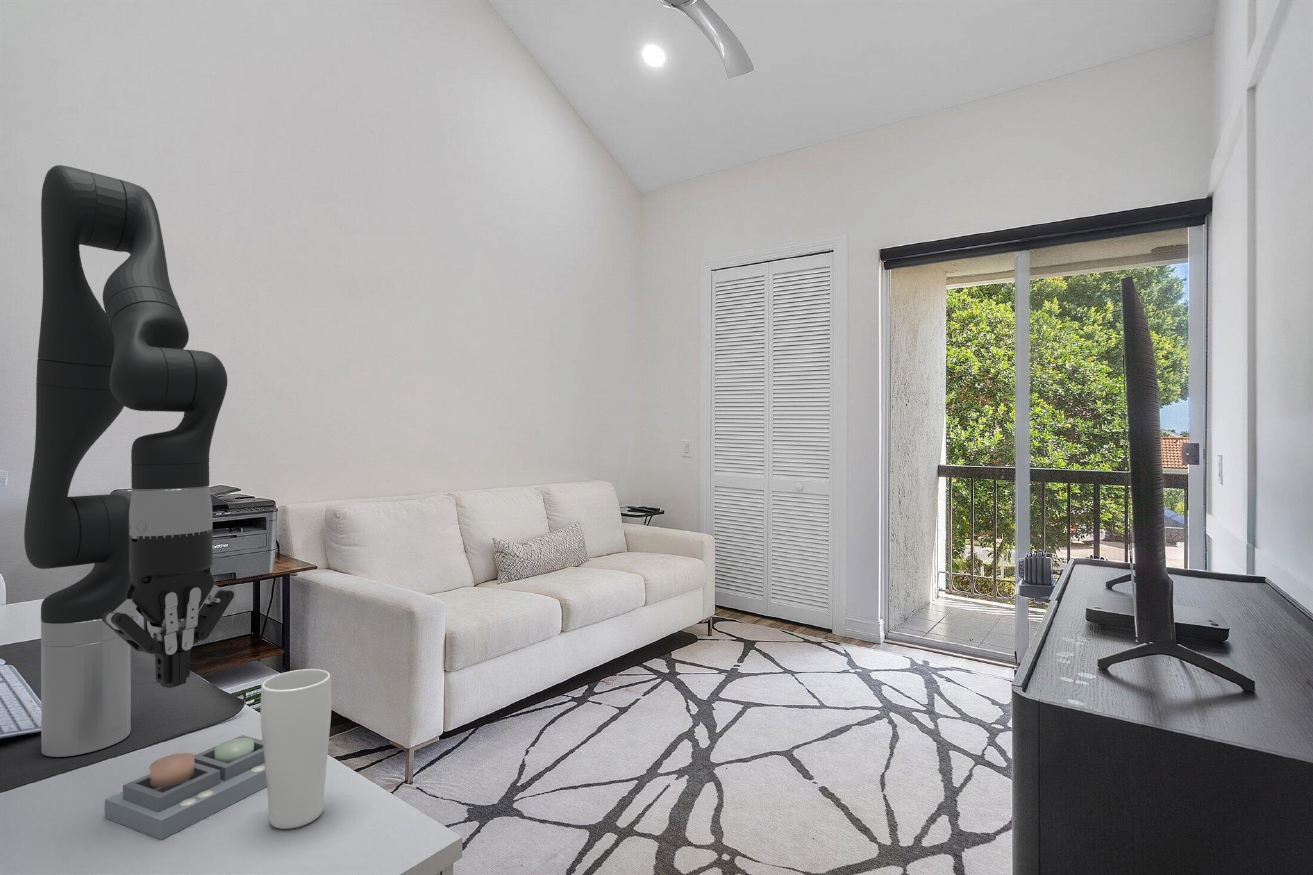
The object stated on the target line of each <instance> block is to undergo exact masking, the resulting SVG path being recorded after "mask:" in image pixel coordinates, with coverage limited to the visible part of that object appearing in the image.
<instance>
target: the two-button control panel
mask: <svg viewBox="0 0 1313 875" xmlns="http://www.w3.org/2000/svg"><path fill="white" fill-rule="evenodd" d="M239 738H250V739H252V740H254V752H252V753H250V754H248V755H246V756H243V757H241V758H239V759H237V760H235V761H232V762H230V763H224V762H221V761H218V760H215V748H216V747H217V746H218V745H215V746H214V747H210V748H209V749H206V750H203V751H201V752H199V753H197V754H195V755H194V754H193V755H194V775H193V776H192V777H191V778H189V779H188V780H186V781H184V782H181V783H179V784H175V785H172V786H166V787H154V786H151V785H150V773H149V774H147V775H144V776H142V777H139V778H137V779H134V780H132V781H130V782H128V783H125V784H123V785H122V791H120V792H118V793H115V794H114V795H111V796H109V797H106V798H105V799H104V818H105V819H108V820H110V821H112V822H115V823H117V824H120V825H122V826H125V827H127V828H129V829H133V830H135V831H138V832H140V833H143V834H145V835H148V836H150V837H153V838H156V839H157V840H161V841H163V840H164V839H166V838H168V837H170V836H173V835H174V834H176V833H179V832H180V831H182V830H184V829H186V828H188V827H189V826H192V825H194V824H196V823H197V822H200V821H202V820H204V819H206V818H207V817H208V818H209V816H211V815H213V814H215V813H218V812H220V811H221V810H224V809H226V808H228V807H229V806H231V805H233V804H235V803H237V802H240V801H241V800H243V799H245V798H247V797H249V796H251V795H253V794H255V793H257V792H259V791H261V790H262V789H265V788H267V782H266V771H265V762H264V752H263V742H262V739H259V738H255V737H252V736H251V737H250V736H247V735H239V736H237V737H234V738H232V739H231V740H233V739H239Z"/></svg>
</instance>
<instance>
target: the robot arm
mask: <svg viewBox="0 0 1313 875" xmlns="http://www.w3.org/2000/svg"><path fill="white" fill-rule="evenodd" d="M40 210H41V211H40V215H41V216H40V222H41V223H40V225H41V226H40V228H41V253H42V254H41V255H42V302H41V303H42V304H41V317H40V327H39V336H38V337H39V338H38V350H37V360H36V384H35V385H36V386H35V388H36V389H35V395H36V396H35V400H36V401H35V403H36V404H35V413H36V414H35V440H34V453H33V462H32V468H31V476H30V483H29V490H28V497H27V504H26V513H25V520H24V522H25V523H24V529H23V531H24V532H23V537H24V538H23V539H24V549H25V553H26V554H25V555H26V558H27V559H28V562H29V563H30V565H31V566H33V567H34V568H37V569H41V570H43V569H44V570H45V569H46V570H47V569H49V570H50V569H59V568H67V567H74V566H85V565H92V564H93V568H92V569H91V571H90V572H88V573H87V575H85V576H84V577H82V578H81V579H80V580H78V581H76V582H75V583H73V584H71V585H69V586H67V587H65V588H62V589H60V590H58V591H55V592H53V593H51V594H48V596H46V597H45V598H44V599H43V600H42V602H41V604H40V605H41V606H40V659H41V660H40V665H41V666H40V668H41V669H40V673H41V674H40V679H41V680H40V684H41V685H40V690H41V691H40V692H41V693H40V695H41V696H40V699H41V702H40V704H41V707H40V708H41V711H40V713H41V714H40V715H41V716H40V717H41V720H40V721H41V722H40V723H41V724H40V726H41V728H40V729H41V730H40V731H41V734H40V737H41V740H40V741H41V745H40V747H41V754H42V755H44V756H47V757H52V758H53V757H54V758H55V757H56V758H59V757H60V758H61V757H63V758H64V757H72V756H78V755H83V754H87V753H88V754H89V753H92V752H96V751H99V750H102V749H105V748H108V747H110V746H114V745H115V744H118V743H119V742H121V741H123V740H125V739H126V738H127V737H128V736H129V735H130V733H131V728H132V727H131V720H132V719H131V710H132V709H131V703H132V700H131V698H132V696H131V694H132V693H131V682H132V678H131V676H132V675H131V674H132V673H131V648H132V649H134V650H135V651H136V652H143V653H147V654H151V655H153V654H154V657H155V658H154V659H155V660H154V662H155V680H156V682H157V684H158V683H159V684H160V686H161V687H163V688H167V689H173V688H176V687H179V686H182V685H185V684H186V683H187V679H188V678H189V677H190V675H191V672H192V670H191V650H192V648H193V646H194V645H195V644H196V643H198V642H200V641H204V640H205V641H206V639H208V638H209V636H210V634H211V633H212V632H213V630H214V628H215V627H216V625H217V624H218V622H219V621H220V619H221V618H222V616H223V615H224V613H225V611H226V610H227V608H228V607H229V605H230V604H231V602H232V601H233V599H234V598H235V593H234V591H232V590H227V589H223V588H221V587H220V586H218V585H216V582H215V577H214V575H213V574H212V571H211V568H212V565H213V564H214V562H213V561H214V558H213V557H214V556H213V555H214V550H213V546H214V545H213V544H214V540H213V503H212V496H211V489H210V451H211V445H212V439H213V435H214V431H215V427H216V424H217V421H218V417H219V415H220V414H219V413H220V411H221V408H222V407H223V406H222V405H223V403H224V400H225V396H226V392H227V389H228V388H227V387H228V375H227V371H226V367H225V366H224V364H223V362H222V361H221V360H220V359H219V358H218V356H216V355H215V354H213V353H211V352H210V351H209V352H208V351H204V350H203V351H202V350H195V349H185V347H186V346H187V344H188V342H189V338H190V332H189V328H188V325H187V322H186V320H185V317H184V316H183V312H182V311H181V308H180V305H179V303H178V301H177V298H176V295H175V294H174V292H173V289H172V284H171V282H170V277H169V271H168V265H167V264H168V263H167V257H166V250H165V245H164V244H165V243H164V239H163V233H162V229H161V228H162V227H161V224H160V218H159V212H158V209H157V206H156V204H155V201H154V199H153V196H152V195H151V194H150V193H149V191H148V190H147V189H145V188H144V187H142V185H141V186H140V185H138V184H136V183H133V182H130V181H126V180H123V179H118V178H115V177H112V176H107V175H104V174H100V173H96V172H92V171H88V170H84V169H80V168H76V167H72V166H68V165H62V164H61V165H60V164H56V165H54V166H52V167H50V169H48V171H47V172H46V174H45V176H44V181H43V182H42V189H41V200H40ZM80 245H82V246H86V247H92V248H98V249H102V250H107V251H112V252H113V251H114V252H117V253H119V252H120V253H128V254H129V256H128V257H127V258H126V260H124V262H122V263H121V264H119V265H118V266H117V268H115V270H114V271H113V272H112V273H111V274H110V275H109V277H108V278H107V280H106V282H105V283H104V287H103V290H102V304H103V306H102V305H101V304H100V302H99V300H98V299H97V298H96V296H95V294H94V292H93V290H92V289H91V288H92V287H90V285H89V282H88V280H87V278H86V275H85V271H84V269H83V264H82V259H81V252H80V251H81V250H80ZM125 407H126V408H127V409H129V410H132V411H139V412H170V413H171V412H173V413H175V412H176V413H183V417H182V419H181V421H180V422H179V424H178V425H177V426H176V427H175V428H173V429H170V430H167V431H161V432H155V433H150V434H145V435H142V436H138V437H137V438H136V439H134V441H133V442H132V445H131V449H130V450H131V451H130V452H131V454H130V455H131V458H130V459H131V460H130V463H131V466H130V467H131V469H130V470H131V472H130V473H131V480H130V482H131V492H130V493H131V495H130V501H129V499H128V498H127V497H125V496H124V495H122V494H117V493H115V494H114V493H113V494H112V493H111V494H110V493H109V494H94V495H93V494H92V495H91V494H90V495H78V496H77V495H75V496H69V493H70V492H69V491H70V487H71V484H72V482H73V478H74V475H75V473H76V471H77V468H78V467H79V464H80V463H81V461H82V460H83V458H84V457H85V455H86V454H87V452H88V451H89V450H90V449H91V447H93V445H94V443H96V442H97V441H98V439H100V437H101V436H102V435H103V434H104V433H105V432H106V431H107V429H108V428H109V427H110V426H111V425H112V424H113V423H114V421H116V419H117V417H119V415H120V413H121V412H122V411H123V410H124V408H125ZM137 612H138V613H139V615H141V617H143V619H144V620H145V621H146V626H147V631H146V630H145V629H143V627H141V626H140V625H139V624H138V623H137V621H138V620H139V616H138V614H137Z"/></svg>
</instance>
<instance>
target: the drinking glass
mask: <svg viewBox="0 0 1313 875" xmlns="http://www.w3.org/2000/svg"><path fill="white" fill-rule="evenodd" d="M260 688H261V689H260V690H261V691H260V730H261V740H262V742H263V752H264V762H265V771H266V782H267V787H266V788H267V791H266V792H267V803H268V821H269V824H270V825H271V826H272V827H274V828H277V829H281V830H289V829H297V828H301V827H303V826H306V825H308V824H311V822H314V821H315V820H317V819H318V818H319V817H320V816H321V815H322V813H323V812H324V809H325V800H326V799H325V797H326V796H325V792H326V791H325V790H326V778H327V765H328V763H327V762H328V754H329V752H328V751H329V742H330V731H331V720H332V719H331V718H332V682H331V673H330V672H328V671H327V670H324V669H318V668H306V669H304V668H303V669H296V670H295V669H294V670H290V671H286V672H281V673H278V674H275V675H273V676H270V677H269V678H267V679H265V680H264V681H263V682H262V684H261V687H260Z"/></svg>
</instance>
